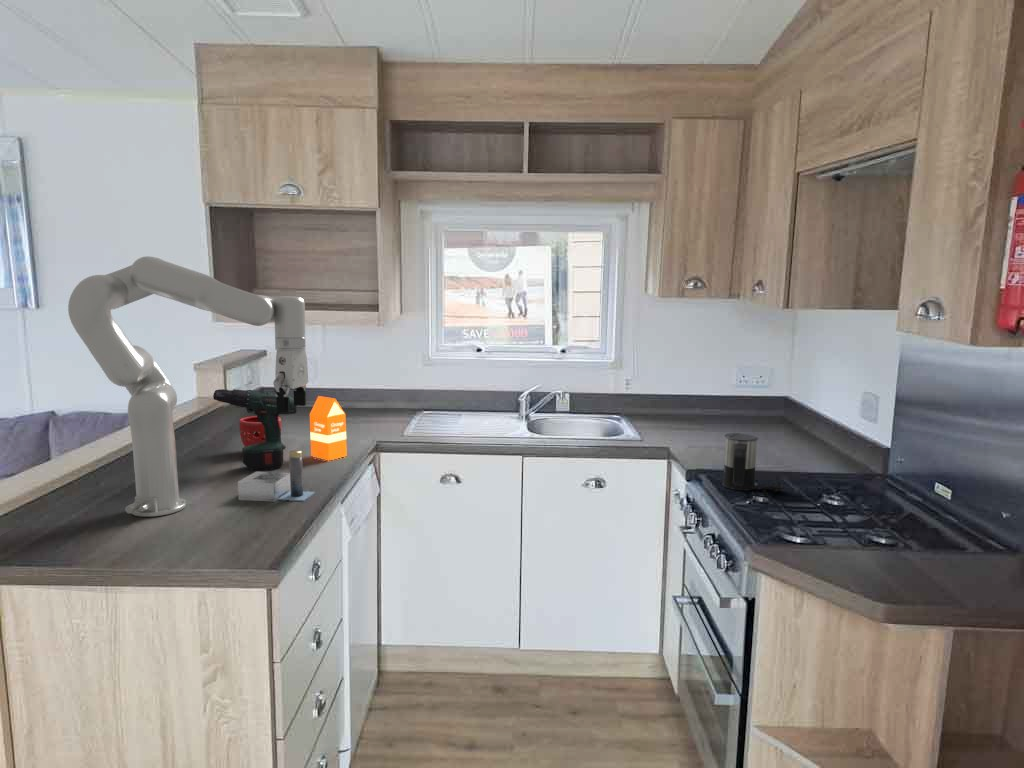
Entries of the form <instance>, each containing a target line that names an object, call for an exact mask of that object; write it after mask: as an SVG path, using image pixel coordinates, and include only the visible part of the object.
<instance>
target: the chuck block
mask: <svg viewBox="0 0 1024 768" xmlns="http://www.w3.org/2000/svg"><path fill="white" fill-rule="evenodd" d="M289 491H291V487H290V472H279V471H278V472H276V471H261V470H257V471H253V473H251V474H249V475H247V476H246V477H244V478H242V479H240V480H238V481H237V492H238V500H239V501H250V502H252V501H254V502H268V503H269V502H270V503H271V502H272V503H275V502H276V501H279V498H280V497H282V496H283V495H285V494H286V493H288V492H289Z"/></svg>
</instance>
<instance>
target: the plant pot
mask: <svg viewBox="0 0 1024 768" xmlns="http://www.w3.org/2000/svg"><path fill="white" fill-rule="evenodd" d="M257 420H258V418H257V415H255V416H254V415H253V416H246V417H242V418H240V419H239V433H240V439H241V440H240V441H241V443H242V445H243V446H244V447H242V448H241V452H242V451H243V449H244V448H245V447H246V446H249V445H253V444H257V443H262V442H264V441H265V438H266V437H265V430H264V425H263V424H262V423H261V422H258V421H257ZM278 421H279V425H280V430H281V431H282V418H281V417H279V416H278Z"/></svg>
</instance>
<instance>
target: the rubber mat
mask: <svg viewBox="0 0 1024 768" xmlns="http://www.w3.org/2000/svg"><path fill="white" fill-rule="evenodd" d="M315 494H316V491H304V490H303V496H300V497H292V496H291V491H289V492H288V493H286V494H285V495H283V496H282V497H280V498H279V499H278V501H286V500H289V501H291V502H305V501H306V500H308V499H309V498H310V497H312V496H313V495H315Z"/></svg>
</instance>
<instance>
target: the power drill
mask: <svg viewBox="0 0 1024 768" xmlns="http://www.w3.org/2000/svg"><path fill="white" fill-rule="evenodd" d="M287 397H289V412H277V397H276V393H272V392H269V391H267V392H266V391H257V390H251V389H247V390H244V389H236V388H234V389H232V390H231V389H223V388H222V389H220V388H219V389H215V391H214V392H213V395H212V398H213V400H214V401H218V402H219V403H225V404H230V405H232V406H236V407H241V408H245V409H246V411H247V413H248V414H254V415H255V416H257V418H258V420H257V421H258V422H261V423H262V424H263V425H264V430H265V437H266V438H265V441H264V442H262V443H257V444H253V445H249V446H246V447H245V446H244V447H245V448H244V447H243V448H244V449H243V451H242V450H241V460H242V463H243V465H245V466H246V467H247V468H249V469H250V470H251V471H253V472H256V471H266V470H268V471H269V470H275V468H278V469H280V467H282V466H283V465H284V450H285V449H286V445H285V444H283V443H282V429H281V430H280V425H279V421H278V417H279V415H294V414H297V413H298V406H296V405H294V397H291V396H290V395H288V396H287Z"/></svg>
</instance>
